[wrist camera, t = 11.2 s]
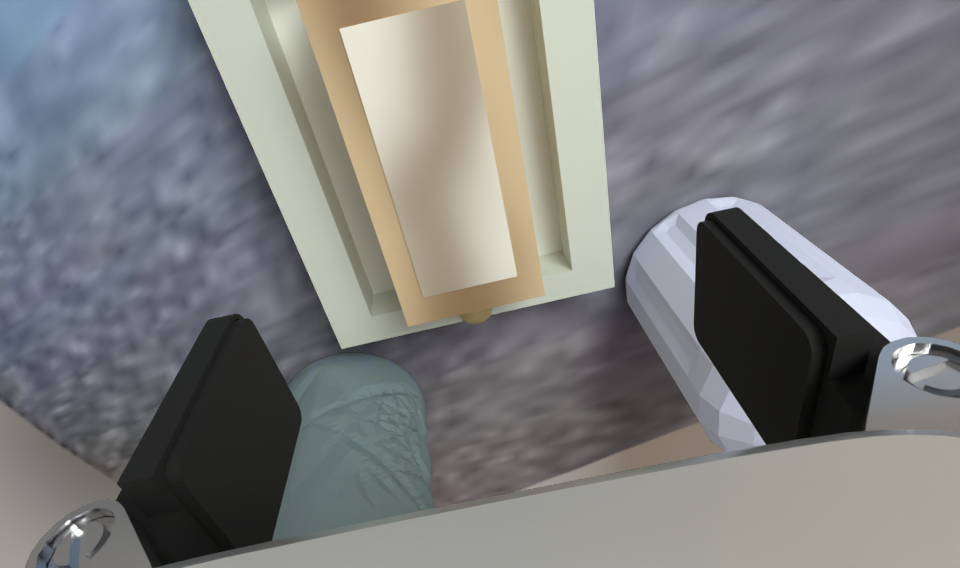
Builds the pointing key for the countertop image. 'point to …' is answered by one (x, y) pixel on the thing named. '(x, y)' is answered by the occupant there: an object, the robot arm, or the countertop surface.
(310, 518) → the teal embossed pot
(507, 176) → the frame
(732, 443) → the soap bottle
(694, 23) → the countertop surface
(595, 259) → the cream rectangular tray
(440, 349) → the countertop surface
